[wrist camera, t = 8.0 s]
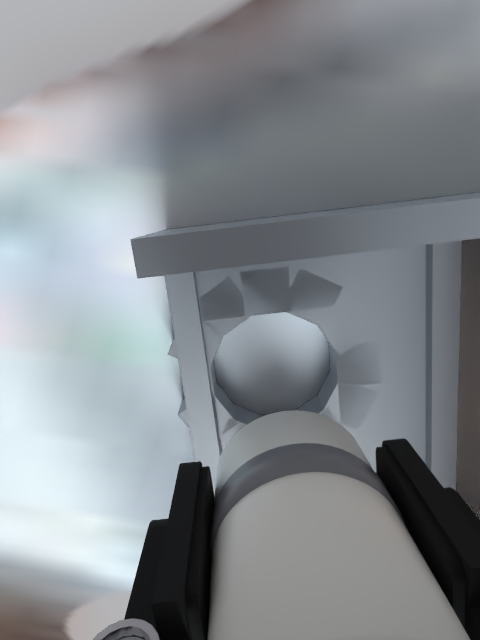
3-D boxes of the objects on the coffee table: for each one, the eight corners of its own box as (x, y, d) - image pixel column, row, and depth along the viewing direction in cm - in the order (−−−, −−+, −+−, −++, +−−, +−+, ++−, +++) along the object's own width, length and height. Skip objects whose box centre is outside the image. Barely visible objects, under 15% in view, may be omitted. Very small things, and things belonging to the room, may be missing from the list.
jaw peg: (364, 398, 11) (522, 610, 5) (371, 534, 12) (509, 838, 6) (202, 419, 11) (173, 655, 5) (224, 553, 12) (221, 874, 6)
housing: (656, 170, 18) (880, 150, 12) (604, 543, 24) (740, 666, 17) (154, 230, 19) (111, 241, 12) (212, 583, 24) (204, 717, 18)
